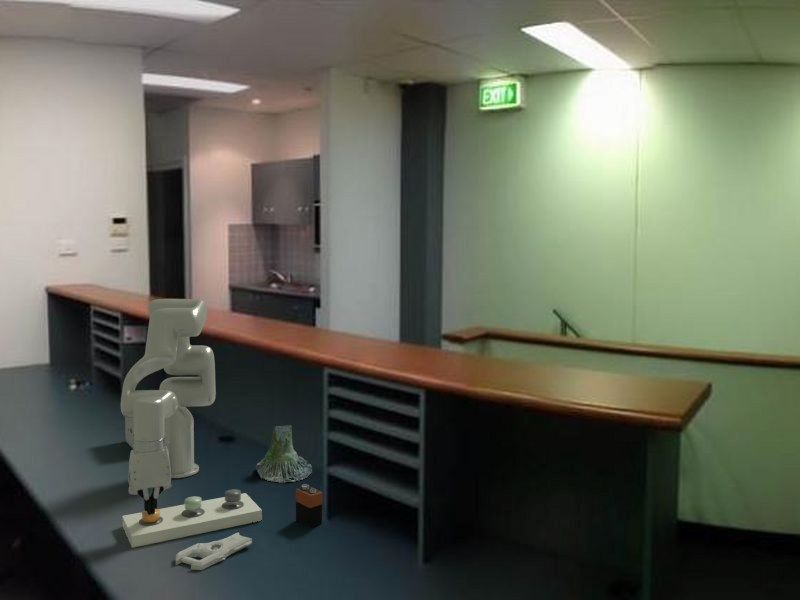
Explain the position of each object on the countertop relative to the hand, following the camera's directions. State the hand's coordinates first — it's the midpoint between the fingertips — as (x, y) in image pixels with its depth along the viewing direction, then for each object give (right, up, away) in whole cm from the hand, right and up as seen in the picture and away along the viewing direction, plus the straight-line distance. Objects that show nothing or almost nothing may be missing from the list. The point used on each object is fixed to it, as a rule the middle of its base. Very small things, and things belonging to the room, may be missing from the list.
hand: (150, 512), depth 181 cm
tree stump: (+27, -2, +47) cm, 55 cm away
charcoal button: (+19, 0, +12) cm, 22 cm away
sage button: (+9, 0, +6) cm, 11 cm away
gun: (+19, -8, -11) cm, 24 cm away
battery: (+41, -6, +9) cm, 42 cm away
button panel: (+9, -5, +6) cm, 12 cm away
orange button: (0, -2, 0) cm, 2 cm away
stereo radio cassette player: (-29, +2, +70) cm, 75 cm away
